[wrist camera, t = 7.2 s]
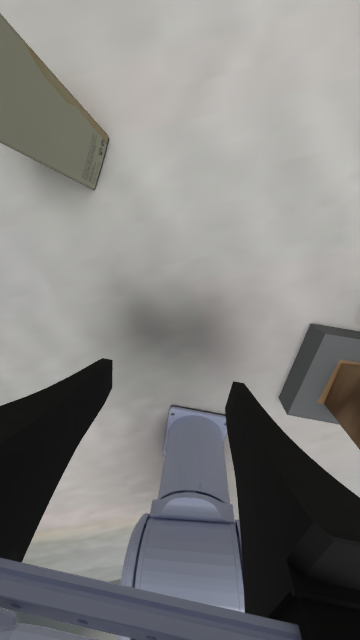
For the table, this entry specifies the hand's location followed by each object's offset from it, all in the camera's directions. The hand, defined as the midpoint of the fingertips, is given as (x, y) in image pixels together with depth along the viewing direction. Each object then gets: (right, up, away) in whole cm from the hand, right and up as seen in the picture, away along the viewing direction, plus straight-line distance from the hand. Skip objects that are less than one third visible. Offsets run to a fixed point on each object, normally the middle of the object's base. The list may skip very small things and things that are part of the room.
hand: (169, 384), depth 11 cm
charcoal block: (+18, -2, +11) cm, 21 cm away
